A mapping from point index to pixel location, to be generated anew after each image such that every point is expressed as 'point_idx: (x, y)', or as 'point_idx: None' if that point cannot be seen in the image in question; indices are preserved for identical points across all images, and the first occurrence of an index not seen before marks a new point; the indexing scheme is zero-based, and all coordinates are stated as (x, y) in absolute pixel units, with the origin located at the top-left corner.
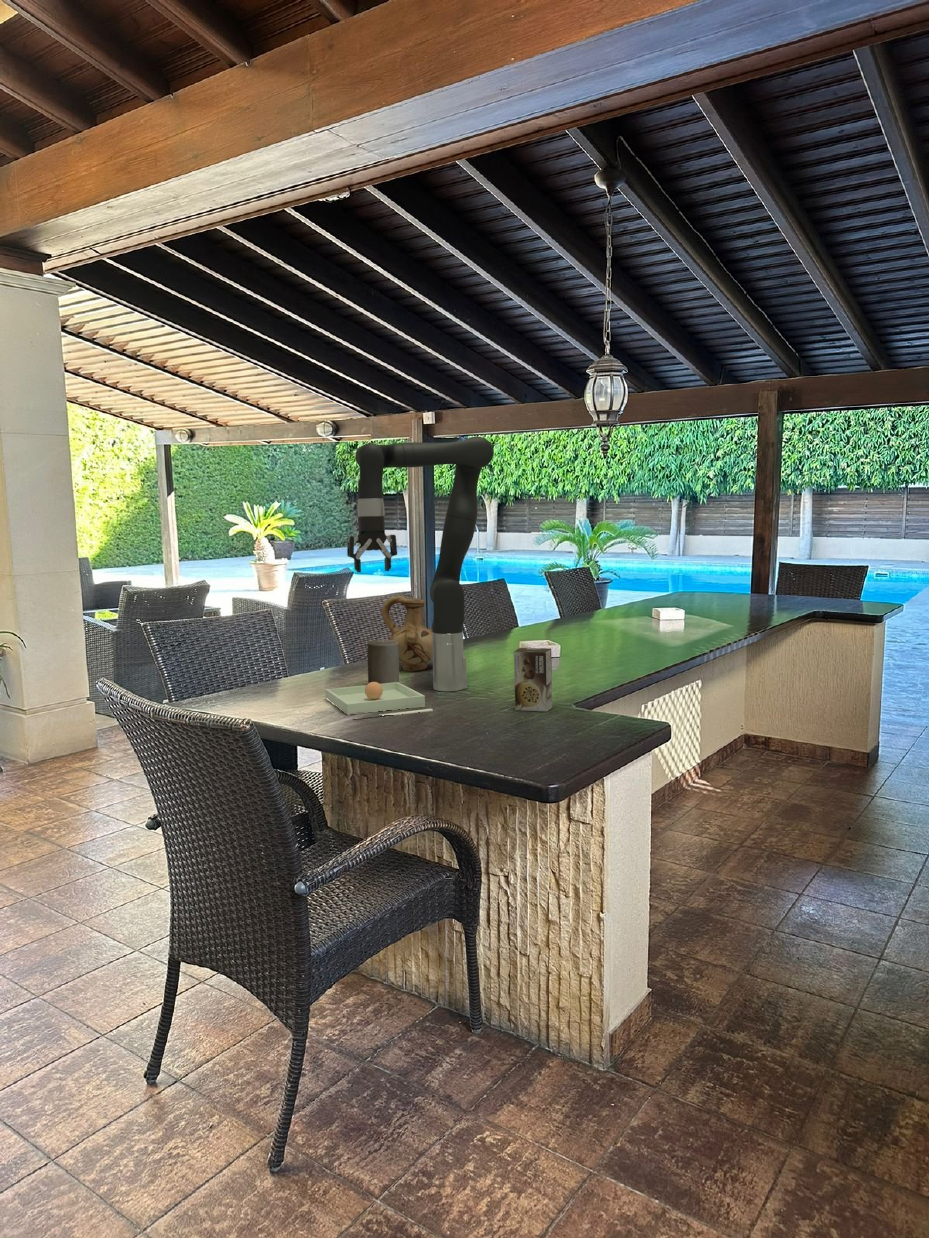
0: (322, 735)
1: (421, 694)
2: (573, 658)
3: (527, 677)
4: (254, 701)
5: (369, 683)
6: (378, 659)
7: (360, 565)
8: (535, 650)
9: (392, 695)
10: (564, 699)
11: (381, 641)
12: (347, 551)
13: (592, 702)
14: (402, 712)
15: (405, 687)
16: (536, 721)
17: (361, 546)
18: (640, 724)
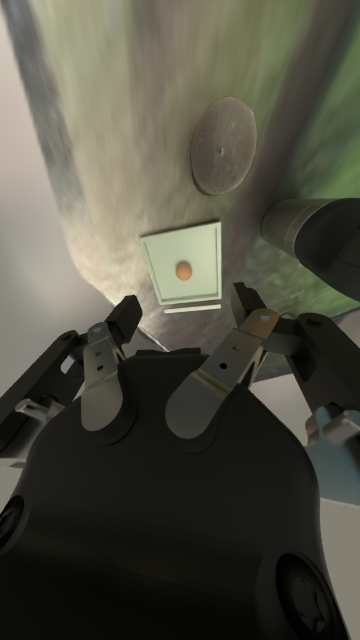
0: (148, 333)
1: (220, 293)
2: None
3: None
4: (71, 218)
5: (179, 275)
6: (204, 192)
7: (135, 328)
8: None
9: (204, 257)
10: (332, 307)
11: (222, 138)
12: (49, 353)
13: (338, 321)
14: (198, 307)
15: (218, 258)
16: None
17: (100, 369)
18: None
